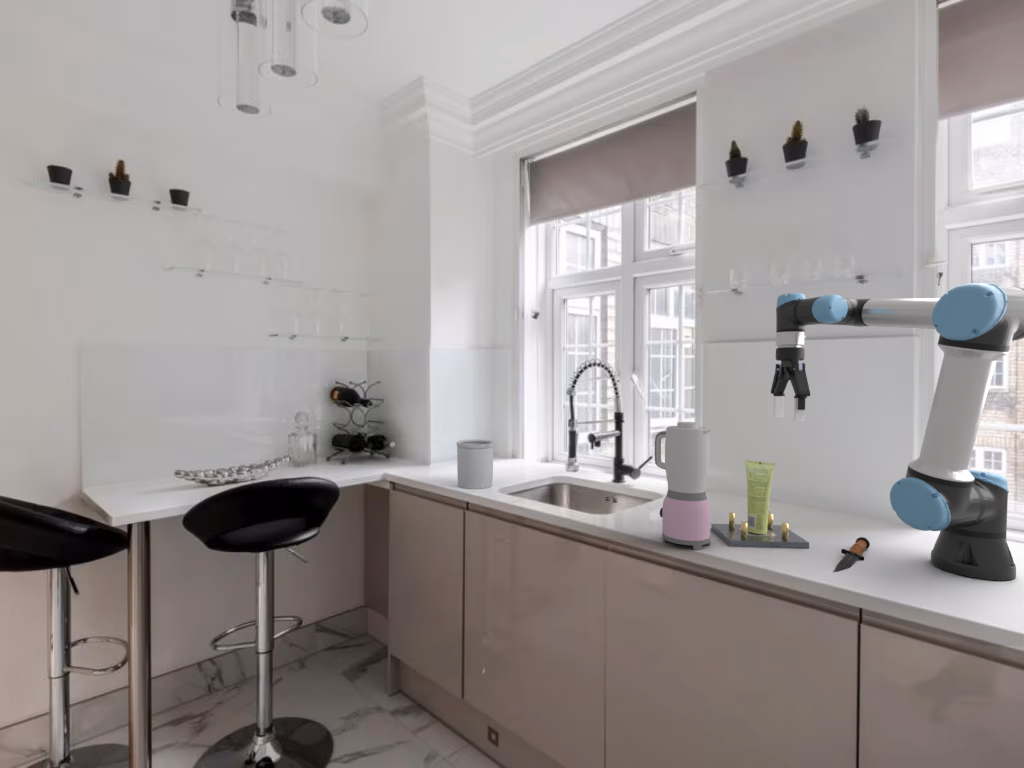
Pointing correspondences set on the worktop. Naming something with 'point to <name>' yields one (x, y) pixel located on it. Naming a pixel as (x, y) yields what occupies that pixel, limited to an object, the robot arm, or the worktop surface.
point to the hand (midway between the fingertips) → (788, 419)
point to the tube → (758, 494)
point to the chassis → (758, 535)
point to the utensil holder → (475, 463)
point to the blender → (685, 484)
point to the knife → (852, 554)
